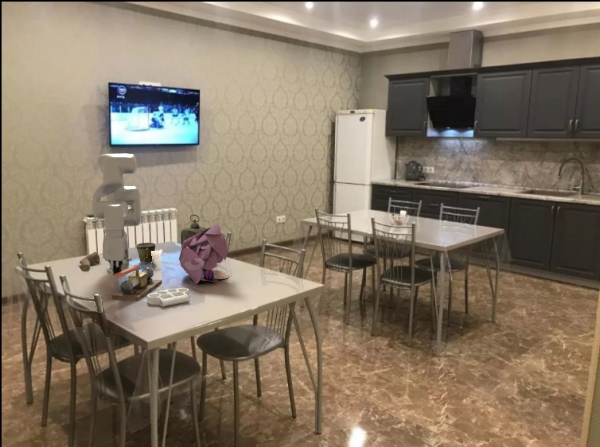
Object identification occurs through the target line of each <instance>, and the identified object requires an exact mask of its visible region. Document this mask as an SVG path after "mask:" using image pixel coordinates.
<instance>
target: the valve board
mask: <svg viewBox="0 0 600 447" xmlns="http://www.w3.org/2000/svg"><path fill="white" fill-rule="evenodd" d="M162 281H163V280H162V279H152V282H151V283H147V284H146V285H144V286H143V287H141V288H139V287H134V288H133V289H136V290H137V292H136V293H135V294H122V291H121V289H119V290H118V291H116V292H115V293H113V294H111V299H112V300H113V299H115V300H127V301H128V300H130V301H131V300H132V301H140V300H141V299H143V298H144V297H145V296H147V295H148V294H150V293H152V291H154V290H155V289H156V288H157V287H159V286H160V285H162V284H163V283H162Z"/></svg>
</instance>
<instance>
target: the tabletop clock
mask: <svg viewBox="0 0 600 447" xmlns="http://www.w3.org/2000/svg"><path fill="white" fill-rule="evenodd" d="M192 217H197V218H198V220H196V219H192ZM189 220H190V221H191V223H190V226H189V227H185V228H182V230H181V231H180V232H181V233H180V246H181V248H182V245H183V242H184V241H185V240H187V239H189V238H191V237H193V236H195V235H197V234H198V233H200V232H203V231H204V230H206V229H208V228H207V227H205V226H200V224H199V221H200V217H199V216H198V215H197V214H191V215H190V216H189Z"/></svg>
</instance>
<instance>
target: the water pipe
mask: <svg viewBox="0 0 600 447" xmlns="http://www.w3.org/2000/svg"><path fill="white" fill-rule="evenodd" d="M154 274H155V273H154V270H153V268H151V267H145V268H143V269H142V270H141V272H140V269H139V270H136V271H133V272H131V273H129V274H128V275H127V279H126V280H123V281H122V282H121V283H120V285H119V290H121V291H122V294H135V293H136V292H137V290H136V289H133V288H134V287H139V288H141V287H143V286H144V285H146V284H147V283H151V282H152V280H153V277H154Z"/></svg>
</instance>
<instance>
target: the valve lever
mask: <svg viewBox="0 0 600 447" xmlns="http://www.w3.org/2000/svg"><path fill="white" fill-rule="evenodd" d="M140 269H141V264H135V265H132V267H131V268H128V269H126V270H123V271H121V272H118V273H116V274H114V276H113V277H114V278H115V279H116V278H117V279H118V278H121V277H124V276H126V275H130V274H132V273H134V272H136V270H139V271H140Z"/></svg>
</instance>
